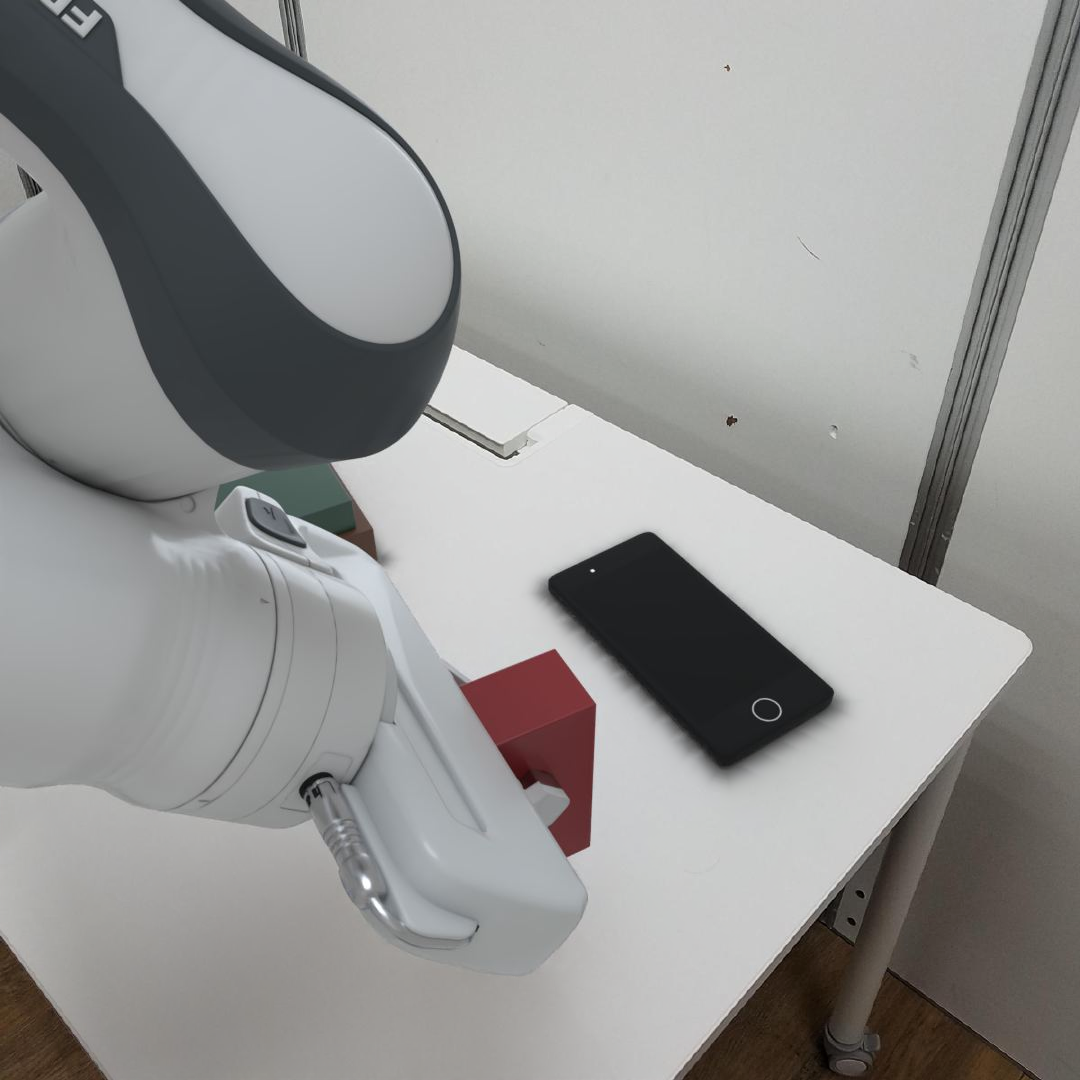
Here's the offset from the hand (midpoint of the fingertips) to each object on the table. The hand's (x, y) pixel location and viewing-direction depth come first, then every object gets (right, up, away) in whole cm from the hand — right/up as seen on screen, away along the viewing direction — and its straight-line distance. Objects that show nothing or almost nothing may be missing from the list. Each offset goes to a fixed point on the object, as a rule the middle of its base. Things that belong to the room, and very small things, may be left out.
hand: (524, 759), depth 47 cm
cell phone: (+10, +3, +23) cm, 25 cm away
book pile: (-21, +9, +30) cm, 38 cm away
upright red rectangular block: (0, -5, +4) cm, 6 cm away
